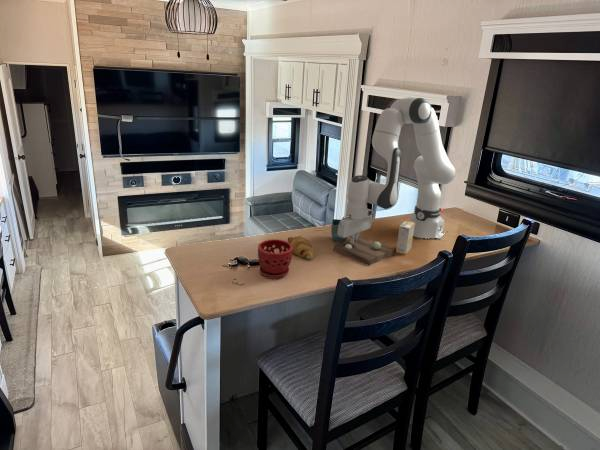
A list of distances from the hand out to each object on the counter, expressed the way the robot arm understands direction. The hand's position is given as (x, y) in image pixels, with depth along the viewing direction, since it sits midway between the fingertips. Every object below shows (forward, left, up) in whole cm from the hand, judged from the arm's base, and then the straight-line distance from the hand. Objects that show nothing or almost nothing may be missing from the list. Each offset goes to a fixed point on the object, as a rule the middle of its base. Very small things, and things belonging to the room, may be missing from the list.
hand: (353, 242), depth 186 cm
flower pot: (-4, -11, -4) cm, 12 cm away
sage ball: (-4, +10, 0) cm, 11 cm away
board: (-1, +5, -4) cm, 6 cm away
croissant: (+20, -14, -4) cm, 25 cm away
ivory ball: (+3, 0, -2) cm, 4 cm away
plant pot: (+43, -5, -4) cm, 43 cm away
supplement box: (-17, +16, -4) cm, 24 cm away
